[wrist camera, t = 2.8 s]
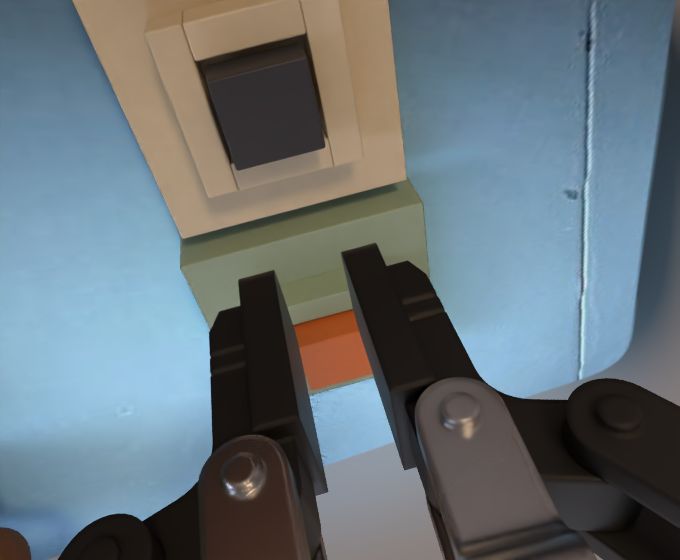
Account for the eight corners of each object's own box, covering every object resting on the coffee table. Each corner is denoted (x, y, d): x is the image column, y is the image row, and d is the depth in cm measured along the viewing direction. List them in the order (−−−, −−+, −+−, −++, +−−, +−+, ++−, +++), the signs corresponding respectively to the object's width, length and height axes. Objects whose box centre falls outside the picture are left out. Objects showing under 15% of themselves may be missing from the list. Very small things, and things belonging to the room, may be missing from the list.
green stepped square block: (180, 235, 25) (178, 291, 22) (407, 175, 26) (435, 222, 23) (247, 380, 33) (252, 436, 30) (423, 331, 33) (446, 382, 30)
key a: (204, 64, 18) (205, 82, 17) (299, 41, 18) (307, 56, 17) (234, 151, 20) (236, 172, 19) (318, 130, 20) (326, 148, 19)
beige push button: (59, -63, 17) (35, -43, 15) (360, -135, 18) (388, -128, 15) (183, 215, 25) (181, 262, 22) (395, 159, 25) (418, 199, 23)
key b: (291, 324, 25) (296, 348, 24) (357, 306, 26) (365, 329, 24) (305, 367, 27) (310, 391, 26) (367, 350, 28) (374, 373, 26)
